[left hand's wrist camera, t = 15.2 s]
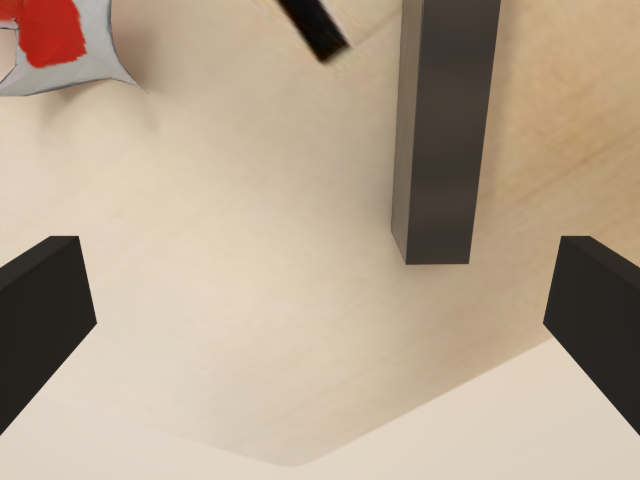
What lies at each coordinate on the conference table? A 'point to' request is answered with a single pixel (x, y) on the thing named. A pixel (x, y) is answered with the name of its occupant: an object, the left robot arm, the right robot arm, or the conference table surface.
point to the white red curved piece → (60, 45)
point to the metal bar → (441, 125)
